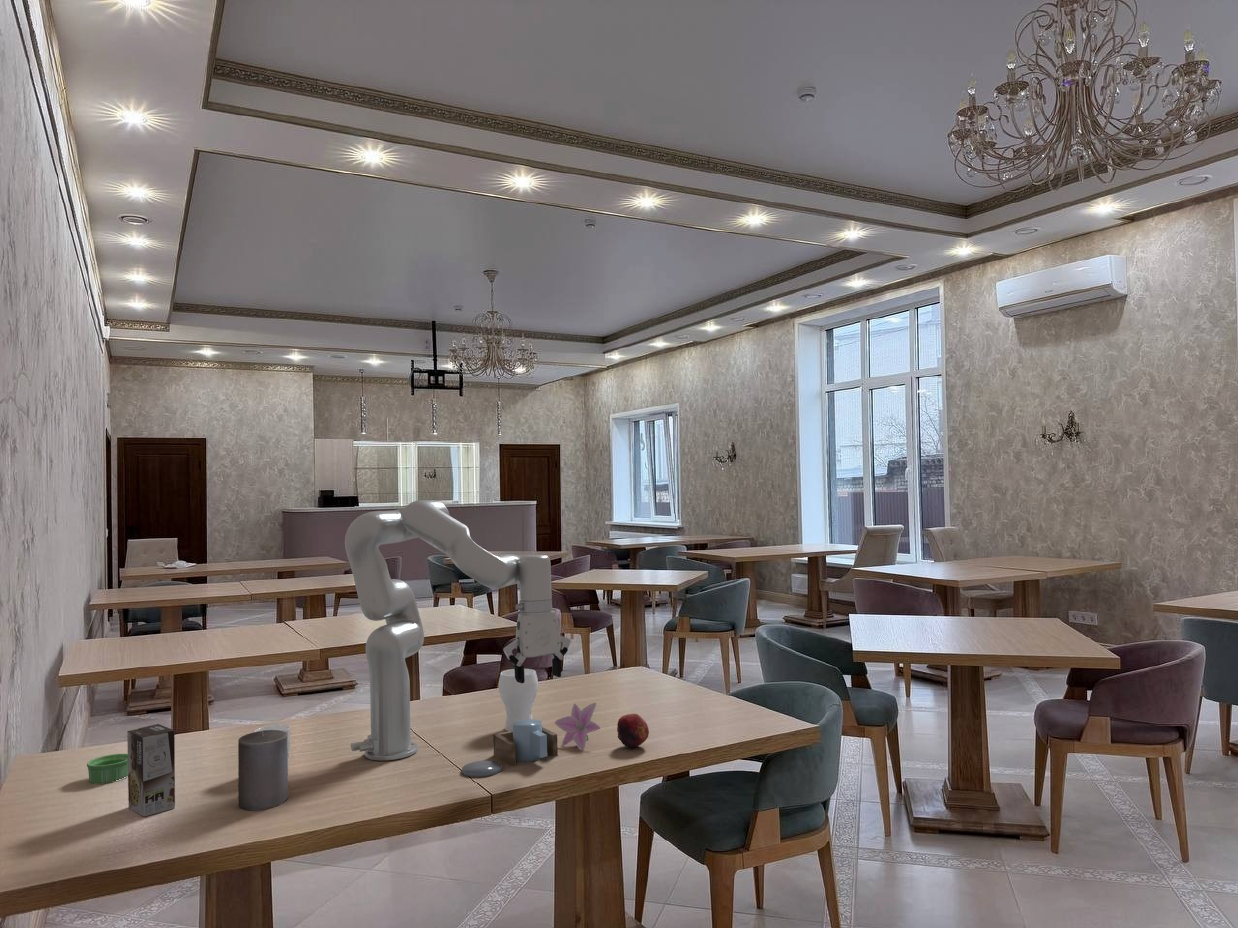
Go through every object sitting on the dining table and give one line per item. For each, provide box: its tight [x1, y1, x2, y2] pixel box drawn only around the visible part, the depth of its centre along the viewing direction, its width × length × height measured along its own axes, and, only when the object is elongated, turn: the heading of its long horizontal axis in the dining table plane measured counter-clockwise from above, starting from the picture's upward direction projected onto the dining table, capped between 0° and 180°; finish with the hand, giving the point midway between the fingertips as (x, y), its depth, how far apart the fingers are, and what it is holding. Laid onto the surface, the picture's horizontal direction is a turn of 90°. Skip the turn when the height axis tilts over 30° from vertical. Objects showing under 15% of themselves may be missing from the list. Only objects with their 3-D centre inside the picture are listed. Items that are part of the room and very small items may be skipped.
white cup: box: [253, 724, 291, 760], centre depth 192 cm, size 8×8×10 cm
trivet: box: [461, 760, 503, 778], centre depth 189 cm, size 9×9×1 cm
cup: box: [498, 668, 539, 732], centre depth 223 cm, size 11×11×15 cm
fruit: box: [616, 713, 650, 749], centre depth 204 cm, size 8×8×8 cm
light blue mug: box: [513, 718, 548, 763], centre depth 197 cm, size 7×12×8 cm, turn 33°
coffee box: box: [126, 723, 176, 818], centre depth 172 cm, size 9×6×16 cm
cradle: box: [492, 726, 559, 766], centre depth 200 cm, size 12×10×5 cm
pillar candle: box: [237, 730, 289, 811], centre depth 174 cm, size 10×10×15 cm
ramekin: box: [86, 753, 128, 784], centre depth 192 cm, size 9×9×4 cm
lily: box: [554, 702, 601, 751], centre depth 208 cm, size 12×12×10 cm
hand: (538, 679), depth 196 cm, fingers open, 9 cm apart
